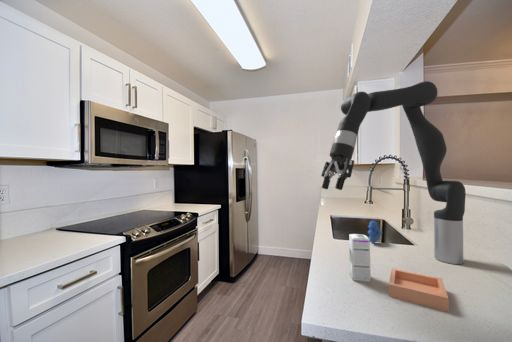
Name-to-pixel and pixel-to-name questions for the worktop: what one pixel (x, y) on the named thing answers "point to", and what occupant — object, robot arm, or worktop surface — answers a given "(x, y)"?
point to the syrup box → (359, 257)
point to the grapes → (373, 231)
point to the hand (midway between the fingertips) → (331, 188)
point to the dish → (418, 289)
